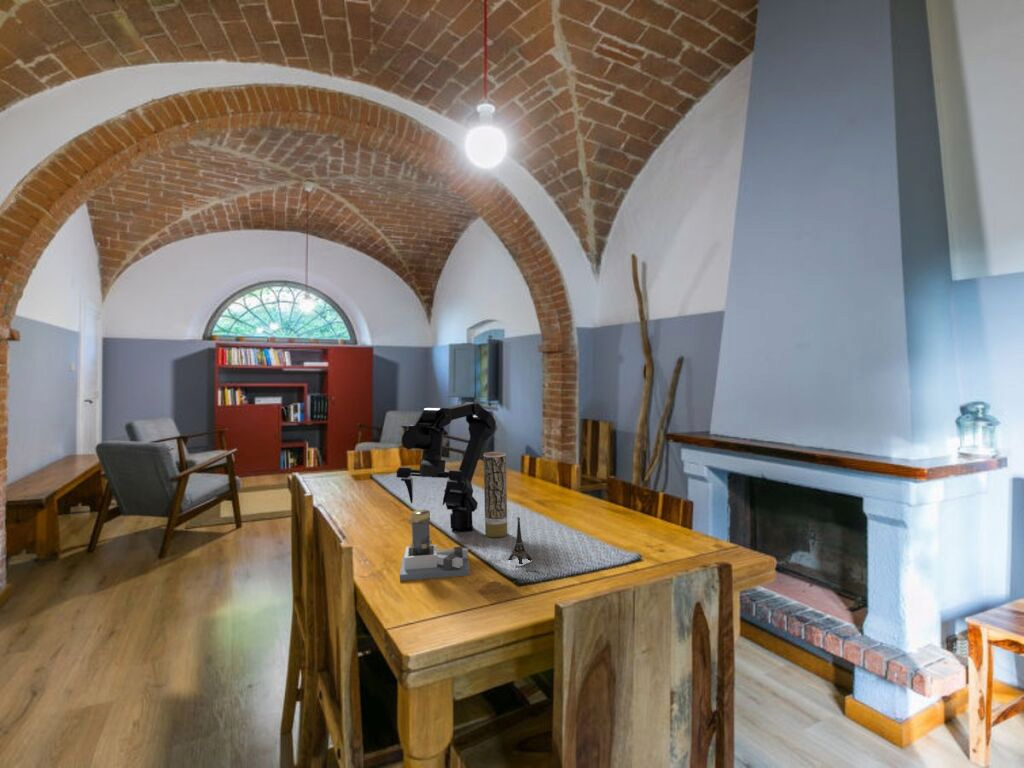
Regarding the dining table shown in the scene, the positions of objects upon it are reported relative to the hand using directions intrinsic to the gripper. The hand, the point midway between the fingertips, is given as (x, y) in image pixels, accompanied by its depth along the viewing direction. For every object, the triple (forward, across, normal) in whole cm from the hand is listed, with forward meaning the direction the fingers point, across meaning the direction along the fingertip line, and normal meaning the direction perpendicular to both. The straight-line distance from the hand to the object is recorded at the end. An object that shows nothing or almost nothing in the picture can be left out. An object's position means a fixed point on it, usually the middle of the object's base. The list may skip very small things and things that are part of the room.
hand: (427, 503), depth 148 cm
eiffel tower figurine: (+12, +26, -15) cm, 32 cm away
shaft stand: (+14, +4, -16) cm, 21 cm away
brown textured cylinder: (+9, +21, +7) cm, 24 cm away
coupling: (+13, 0, -16) cm, 20 cm away
